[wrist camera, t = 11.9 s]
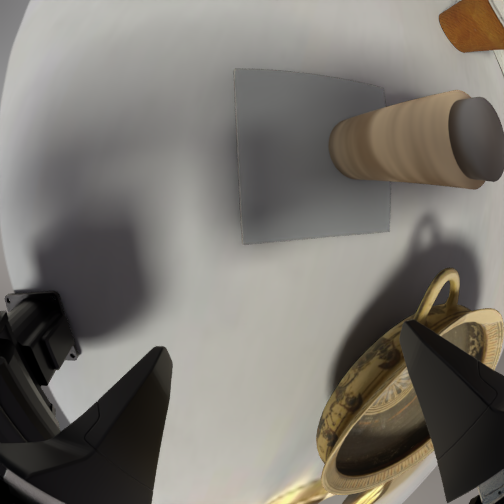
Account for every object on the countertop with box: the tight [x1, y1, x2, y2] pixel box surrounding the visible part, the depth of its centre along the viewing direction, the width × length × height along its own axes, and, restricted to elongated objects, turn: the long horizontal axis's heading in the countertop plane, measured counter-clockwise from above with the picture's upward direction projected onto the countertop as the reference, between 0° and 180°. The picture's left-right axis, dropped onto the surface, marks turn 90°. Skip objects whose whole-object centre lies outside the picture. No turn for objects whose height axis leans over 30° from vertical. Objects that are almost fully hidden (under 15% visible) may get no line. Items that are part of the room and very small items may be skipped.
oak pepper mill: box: [329, 90, 504, 189], centre depth 14 cm, size 5×5×12 cm
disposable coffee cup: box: [439, 0, 504, 53], centre depth 14 cm, size 10×10×12 cm
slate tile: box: [234, 69, 391, 245], centre depth 20 cm, size 13×13×1 cm
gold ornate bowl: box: [316, 268, 504, 495], centre depth 23 cm, size 30×24×10 cm
